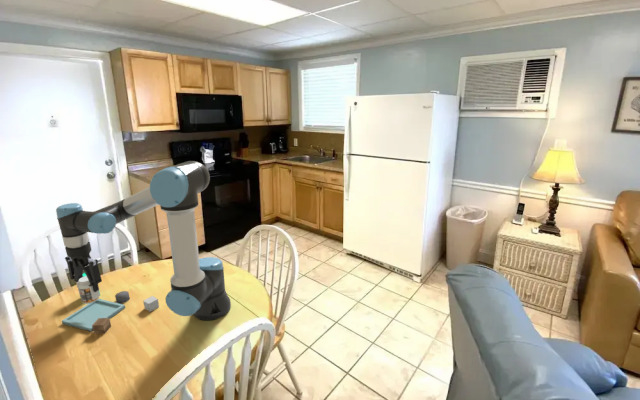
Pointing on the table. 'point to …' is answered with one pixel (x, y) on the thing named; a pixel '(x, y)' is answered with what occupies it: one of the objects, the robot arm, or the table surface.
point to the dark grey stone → (122, 297)
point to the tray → (93, 314)
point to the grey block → (151, 303)
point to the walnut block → (101, 325)
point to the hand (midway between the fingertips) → (90, 296)
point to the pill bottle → (85, 291)
